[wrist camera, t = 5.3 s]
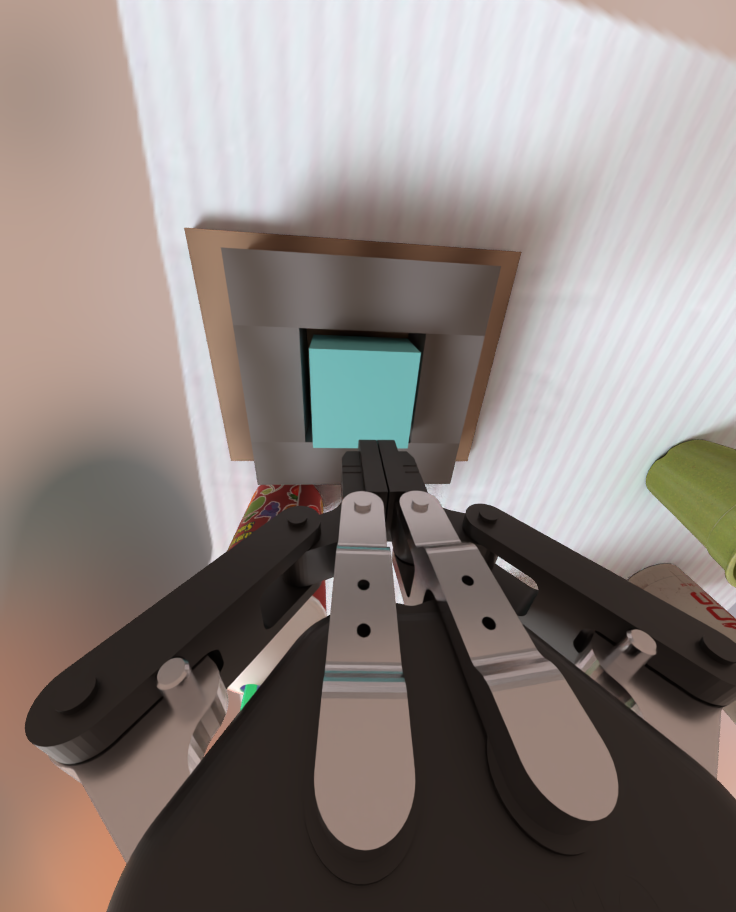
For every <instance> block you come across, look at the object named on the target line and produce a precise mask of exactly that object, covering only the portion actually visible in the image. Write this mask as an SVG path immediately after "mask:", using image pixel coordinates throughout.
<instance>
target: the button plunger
mask: <svg viewBox="0 0 736 912" xmlns="http://www.w3.org/2000/svg"><path fill="white" fill-rule="evenodd" d="M420 356H421V352H420V351H419V350H418V349H417V348H416V347H415V346H414V345H413V344H412V343H411V342H410V341H409V340H408V339H407V338H385V337H361V336H337V335H313V338H312V341H311V344H310V347H309V361H310V385H311V410H312V434H313V448H358V441H359V440H376V441H377V440H395V443H396V446H397V448H408V442H409V435H410V428H411V421H412V414H413V406H414V399H415V392H416V385H417V378H418V370H419V363H420Z"/></svg>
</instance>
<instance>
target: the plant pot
mask: <svg viewBox="0 0 736 912" xmlns="http://www.w3.org/2000/svg"><path fill="white" fill-rule="evenodd" d="M646 486H647V488H648V489H649V491H650V492H651V493H652V494H653V495H654V496H655V497H656V498H657V499H658V500H659V501H660V502H661V503H662V504H663V505H664V506H665V507H666V508H667V509H668V510H669V511H670V512H671V513H672V514H673V515H674V516H675V517H676V518H677V519H678V520H679V521H680V522H681V523H682V524H683V525H684V526H685V527H686V528H687V529H688V530H689V531H690V532H691V533H692V534H693V535H694V536H695V537H696V538H697V539H698V540H699V541H700V542H701V543H702V544H703V545H704V546H705V547H706V548H707V550H708V552H709V554H710V555H711V556H712V557H713V559H714V560H715V561H716V562H717V563H718V564H719V565H720V566H721V567H722V568H723V569H724V570H725V576H726V579H727V581H728V582H729V583H730V584H731V585H732V586H734V587H736V449H732V448H729V447H726V446H723V445H719V444H716V443H713V442H709V441H706V440H691V441H687V442H684V443H681V444H679V445H677V446H675V447H673V448H671V449H670V450H669V451H668V453H667V454H666V455H665V456H664V457H663V458H661V459H659V460H657V461H655V463H654V464H653V465H652V467H651V468H650V470H649V472H648V474H647V477H646Z"/></svg>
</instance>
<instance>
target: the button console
mask: <svg viewBox="0 0 736 912" xmlns="http://www.w3.org/2000/svg"><path fill="white" fill-rule="evenodd" d="M184 229H185V234H186V239H187V244H188V249H189V254H190V259H191V264H192V269H193V274H194V279H195V284H196V289H197V294H198V299H199V304H200V309H201V314H202V319H203V324H204V329H205V334H206V339H207V344H208V349H209V353H210V358H211V363H212V368H213V373H214V378H215V383H216V388H217V393H218V398H219V403H220V408H221V413H222V418H223V423H224V428H225V433H226V438H227V443H228V448H229V453H230V458H231V461H254V463H255V469H256V476H257V482H258V485H326V484H341V471H342V457H343V455H344V454H345V453H346V451H358V448H313V434H312V410H311V385H310V361H309V347H310V344H311V341H312V338H313V335H337V336H361V337H385V338H407V339H408V340H409V341H410V342H411V343H412V344H413V345H414V346H415V347H416V348H417V349H418V350H419V351H420V352H421V356H420V363H419V370H418V378H417V385H416V392H415V399H414V406H413V414H412V421H411V428H410V435H409V442H408V448H397V449H398V451H407V452H408V453H409V454H410V455H411V456H412V457H414V459H415V462H416V464H417V467H418V469H419V473H420V474H421V477H422V479H423V482H424V484H450V482H451V478H452V473H453V469H454V465H455V461H468V457H469V453H470V449H471V445H472V441H473V437H474V433H475V430H476V426H477V422H478V418H479V414H480V410H481V406H482V402H483V399H484V395H485V391H486V387H487V383H488V379H489V375H490V372H491V368H492V364H493V360H494V356H495V352H496V348H497V344H498V341H499V337H500V333H501V329H502V325H503V321H504V317H505V313H506V310H507V306H508V302H509V298H510V294H511V290H512V286H513V282H514V279H515V275H516V271H517V267H518V263H519V259H520V255H521V252H514V251H500V250H486V249H473V248H459V247H445V246H431V245H417V244H403V243H390V242H376V241H362V240H348V239H334V238H321V237H307V236H293V235H279V234H265V233H251V232H238V231H224V230H210V229H196V228H184Z"/></svg>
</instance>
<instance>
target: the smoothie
mask: <svg viewBox="0 0 736 912" xmlns="http://www.w3.org/2000/svg"><path fill="white" fill-rule="evenodd" d="M294 506H307V507H310V508H313V509H314V510H316V511H317V512H318V513H319V514H323V503H322V498H321V496H320V494H319V492H318V490H317V489H315V487H314V485H260V486H259V487H258V488H257V490H256V492H255V493H254V495H253V497H252V499H251V501H250V503H249V506H248V508H247V510H246V512H245V514H244V516H243V518H242V520H241V523H240V525H239V527H238V529H237V531H236V533H235V535H234V537H233V539H232V542H231V544H230V546H229V548H228V550H230V549H231V548H232V547H234V546H235V545H237V544H238V543H239V542H241V541H242V540H243V539H245V538H246V537H247V536H249V535H250V534H252V533H253V532H254V531H256V530H257V529H258V528H260V527H261V526H263V525H264V524H265V523H267V522H268V521H269V520H271V519H272V518H273V517H275V516H276V515H278V514H279V513H280V512H282V511H283V510H285V509H287V508H290V507H294ZM228 550H227V551H228ZM325 617H327V613H326V586H325V580H324V581H322V583H321V585H320V587H319V588H318V590H317V591H316V592H315V593H314V594H313V595H312V596H311V597H310V598H309V600H308V601H307V602H306V603H305V604H304V605H303V606H302V607H301V608H300V609H299V610H298V612H297V613H296V614H295V615H294V616H293V617H292V618H291V619H290V620H289V621H288V623H287V624H286V625H285V626H284V627H283V628H282V629H281V630H280V631H279V632H278V634H277V635H276V636H275V637H274V638H273V639H272V640H271V641H270V642H269V643H268V644H267V646H266V647H265V648H264V649H263V650H262V651H261V652H260V653H259V654H258V655H257V657H256V658H255V659H254V660H253V661H252V662H251V663H250V664H249V665H248V666H247V667H246V669H245V670H244V671H243V672H242V673H241V674H240V675H239V676H238V677H237V678H236V680H235V681H234V682H233V683H232V684H231V685H230V686H229V687H228V688H227V689H228V690H230V691H233V692H235V693H238V694H243V699H242V704H241V709H240V711H241V710H242V708H243V707H244V706H245V704H246V703H247V702H248V701H249V699H250V698H251V697H252V696H253V694H254V693H255V692H256V691H257V689H258V688H259V687H260V685H261V684H262V683H263V682H264V680H265V679H266V678H267V677H268V675H269V674H270V673H271V672H272V670H273V669H274V668H275V666H276V665H277V664H278V663H279V661H280V660H281V659H282V658H283V656H284V655H285V654H286V653H287V651H288V650H289V649H290V648H291V646H292V645H293V644H294V642H295V641H296V640H297V639H298V638H299V636H301V635H302V634H303V633H304V632H305V631H306V630H307V629H308V628H309V627H310V626H312V625H313V624H314V623H316V622H318V621H319V620H321V619H322V618H325Z"/></svg>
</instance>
